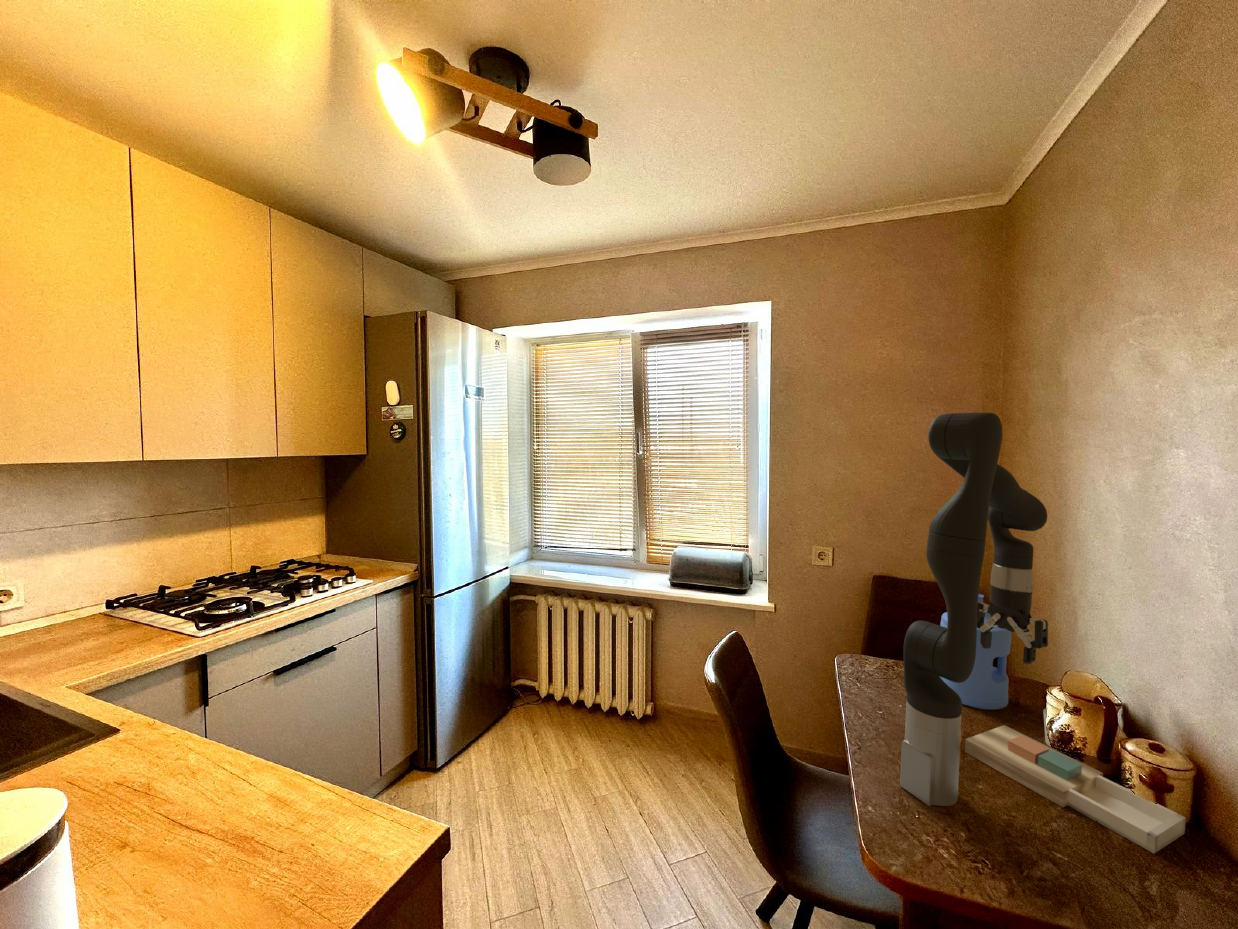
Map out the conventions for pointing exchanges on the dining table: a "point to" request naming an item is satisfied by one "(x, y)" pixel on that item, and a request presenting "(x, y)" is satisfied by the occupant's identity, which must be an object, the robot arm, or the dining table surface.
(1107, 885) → the dining table surface
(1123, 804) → the box
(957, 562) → the robot arm
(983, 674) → the water jug
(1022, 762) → the birch board
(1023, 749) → the terracotta tile
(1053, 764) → the teal tile
